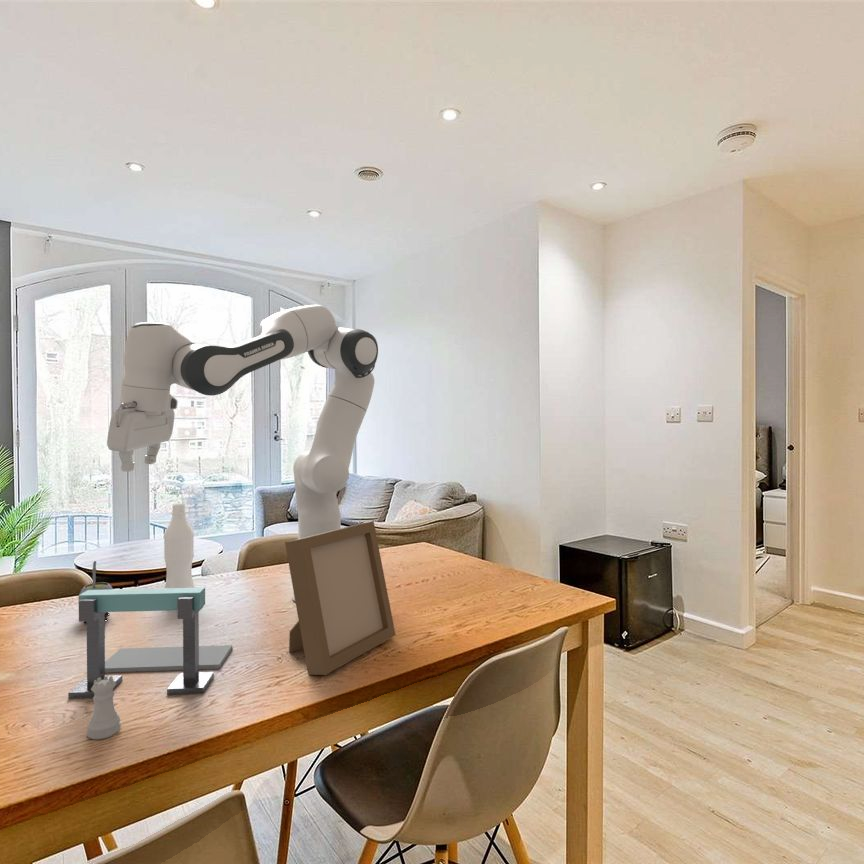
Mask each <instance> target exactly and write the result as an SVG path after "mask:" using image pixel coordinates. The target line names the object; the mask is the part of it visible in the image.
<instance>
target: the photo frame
mask: <svg viewBox="0 0 864 864" xmlns="http://www.w3.org/2000/svg"><path fill="white" fill-rule="evenodd" d="M377 537H378V536H377V531H376V527H375V521H374V520H372V521H367V522H362V523H358V524H352V525H349V526H344V527H341V528H340V529H336V530H332V531H328V532H324V533H320V534H316V535H312V536H308V537H304V538H300V539H298V538H296V539H293V540H289V541H285V542H284V545H285V550H286V556H287V562H288V568H289V572H290V579H291V585H292V590H293V592H294V597H295V601H294V602H295V607H296V612H297V618H298V620H297V622H296V623H294V625H293V626H292V628H291V629H290V630H289V635H288V636H289V638H288V641H289V642H288V643H289V645H288V652H289V653H294V651H295V652H299V651H300V652H301V651H303V652H304V657H305V658H304V659H305V665H306V668H307V669H306V670H307V674H308V675H309V676H311V675H313V676H317V675H318V676H319V675H321V676H323V675H324V676H325V675H327V674H329V673H331V672H333V671H334V670H336V669H338V668H340V667H341V666H343V665H345V664H347V663H348V662H350V661H352V660H354V659H356V658H358V657H360V656H362V655H363V654H365V653H366V652H368V651H370V650H372V649H374V648H375V647H377V646H379V645H381V644H382V643H385V642H386V641H388V640H389V639H391V638H393V637H394V636H396V629H395V625H394V619H393V615H392V610H391V605H390V599H389V595H388V588H387V583H386V578H385V574H384V573H385V572H384V568H383V563H382V557H381V552H380V547H379V543H378V538H377Z"/></svg>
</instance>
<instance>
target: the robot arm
mask: <svg viewBox="0 0 864 864" xmlns="http://www.w3.org/2000/svg"><path fill="white" fill-rule="evenodd" d="M305 353H307V354H308V356H309V358H310V360H312V362H314V364H316V365H318V366H320V367H321V368H326V369H330V370H331V369H332V370H334V382H333V385H332V387H331V388H330V391H329V393H328V395H327V397H326V401H324V405H323V407H322V410H321V411H320V415H319V416H318V419H317V421H316V426H315V428H316V429H315V432H314V433H315V434H314V437H313V442H312V445H311V447H310V449H307V450H305V451H303V452H302V453H301V454H299V455H298V456H297V457H296V458H295V461H294V462H293V467H292V468H293V469H292V470H293V471H292V472H293V478H294V479H293V481H294V489H295V490H294V492H295V499H296V505H297V506H296V507H297V517H298V518H297V519H298V520H297V522H298V523H297V530H298V531H297V536H298V537H297V539H300V538H304V537H308V536H312V535H316V534H320V533H324V532H328V531H332V530H336V529H340V528H342V524H341V518H342V517H341V510H340V508H339V502H338V496H337V492H339V491H341V490H343V488H344V487H345V486H346V485H347V483H348V480H349V477H350V476H349V475H350V464H351V460H352V456H353V452H354V451H353V450H354V446H355V442H356V439H357V435H358V433H359V431H360V429H361V425H362V423H363V421H364V419H365V416H366V414H367V410H368V409H369V405H370V402H371V399H372V396H373V392H374V386H375V376H374V374H373V373H372V372H373V371H374V370H375V367H376V363H377V360H378V356H379V346H378V342H377V339H376V337H375V336H374V335H373V334H372V333H370V332H368V331H366V330H363V329H359V328H349V327H337V325H336V321H335V317H334V315H333V313H332V312H331V310H329V309H328V307H325V306H324V305H322V304H309V305H302V306H297V307H292V308H291V307H290V308H288V309H285V310H284V309H283V310H281V311H279V312H276V313H274V314H272V315H270V316H268V317H266V318H265V319H262V321H261V322H260V325H259V328H258V336H256V337H253V338H250V339H248V340H245V341H242V342H240V343H236V344H233V345H232V346H220V345H210V344H209V345H208V344H207V345H203V344H198V343H196V342H195V341H193V340H191V339H189V338H188V337H186V336H184V335H182V334H181V333H180V332H179V331H177V330H176V329H175V327H173V326H172V324H171V323H167V322H161V321H160V322H157V321H156V322H154V321H151V322H150V321H147V322H146V321H144V322H136V323H135V324H133V325H132V326H130V328H129V330H128V333H127V337H126V341H125V347H124V353H123V367H124V374H123V375H124V376H123V379H122V381H121V385H120V387H121V388H120V400H119V401H120V402H119V406H118V407H117V409H115V411H114V412H113V413H112V415H111V418H110V421H109V426H108V432H107V438H106V439H107V440H106V446H107V448H108V450H109V451H114V452H118V457H119V458H120V459H119V460H120V461H121V468H120V469H121V471H122V472H125V473H129V472H132V471H134V470H135V461H133V455H134V450H137V449H142V448H145V447H146V448H147V453H146V455H144V464H146V465H153V464H156V463H157V456H158V454H159V451H160V449H161V445H162V443H165V442H169V441H170V440H171V437H172V434H173V430H174V424H175V411H174V410H177V408H178V403H179V402H178V399H177V398H176V397H174V395H172V394H171V386H172V385H174V384H176V385H178V386H180V387H184V388H186V389H189V390H192V391H195V392H197V393H199V394H201V395H204V396H209V397H210V396H213V397H214V396H218V395H222V394H224V393H226V391H229V389H231V388H232V387H233V386H234V385H235V384H236V383H237V382H238V381H239V380H240V379H242V378H243V377H244V376H246V375H248V374H249V373H252V372H254V371H257V370H259V369H262V368H263V367H266V366H268V365H270V364H273V363H276V362H278V361H281V360H287V359H290V358H293V357H296V356H300V355H302V354H305ZM291 599H292V600H293V601H294V602H295V597H294V591H293V592H292V596H291Z"/></svg>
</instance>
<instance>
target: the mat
mask: <svg viewBox="0 0 864 864" xmlns="http://www.w3.org/2000/svg"><path fill="white" fill-rule="evenodd" d="M232 650H233V645H232V644H227V645H226V644H225V645H224V644H223V645H199V670H215V669H216V670H219V669H220V668H222V666H223V664H224V663H225V661H226V660H227V658H228V656H229V655H230V653H231V651H232ZM136 671H137V672H160V671H161V672H163V671H183V646H165V647H163V646H162V647H161V646H160V647H159V646H158V647H128V648H126V647H125V648H119V649H118V650H117V651H116V652H115V653H114V654H113V655H111V656H110V657H109V658H108V659H107V660H105V674H106V673H129V672H130V673H133V672H136Z"/></svg>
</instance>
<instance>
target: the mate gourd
mask: <svg viewBox="0 0 864 864" xmlns="http://www.w3.org/2000/svg"><path fill="white" fill-rule="evenodd" d="M91 572H92V583H90V584H86V585H84V586H83V587H82V589H80V590H81V591H80V592H79V595H80V594H82V593H84V592H85V591H87V590H110V589H114V588H113V587H112V585H111V584H110V583H108V582H104V581H102V582H96V579H97V577H96V573H97V561H96V560H95V561H93V562H92V569H91ZM108 614H109V615H110V612H106V613H105V620H107V619H108V620H109V618H107V616H106V615H108ZM109 615H108V616H109ZM108 620H107V621H108ZM84 623H87V621H86V622H83V624H84Z"/></svg>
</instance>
